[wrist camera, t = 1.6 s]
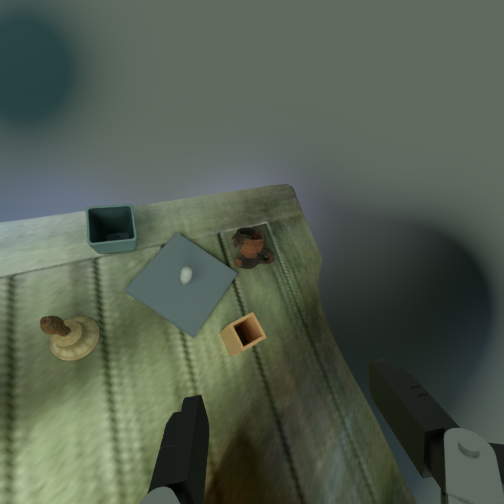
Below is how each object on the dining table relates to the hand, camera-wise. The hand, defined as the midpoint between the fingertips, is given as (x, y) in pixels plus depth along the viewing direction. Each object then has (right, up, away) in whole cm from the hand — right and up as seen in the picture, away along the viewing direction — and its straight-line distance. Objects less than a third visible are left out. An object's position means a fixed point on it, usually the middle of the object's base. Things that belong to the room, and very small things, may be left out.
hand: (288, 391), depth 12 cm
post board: (-18, -1, +49) cm, 52 cm away
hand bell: (-36, -10, +39) cm, 54 cm away
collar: (-5, -13, +47) cm, 49 cm away
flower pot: (-33, +9, +49) cm, 60 cm away
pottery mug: (-3, +6, +58) cm, 58 cm away
